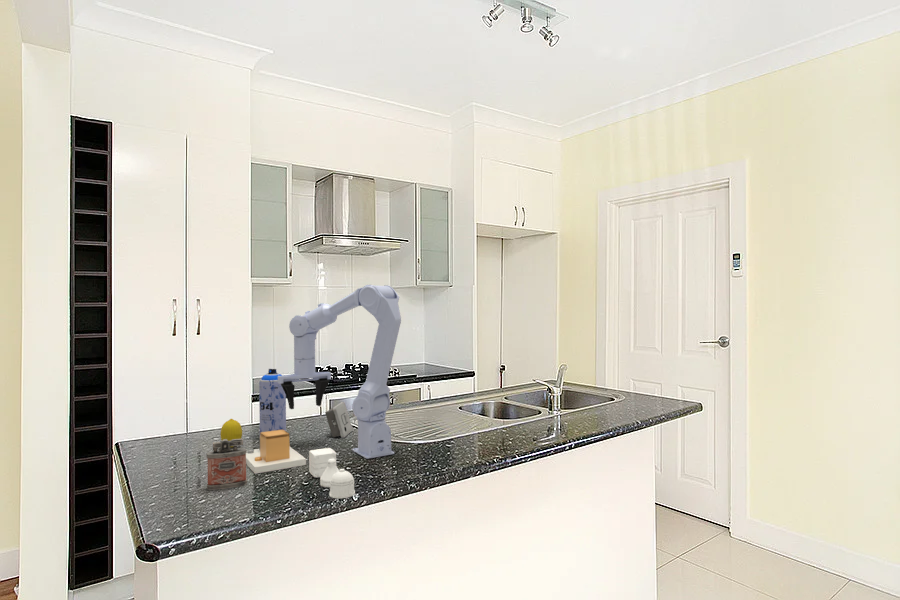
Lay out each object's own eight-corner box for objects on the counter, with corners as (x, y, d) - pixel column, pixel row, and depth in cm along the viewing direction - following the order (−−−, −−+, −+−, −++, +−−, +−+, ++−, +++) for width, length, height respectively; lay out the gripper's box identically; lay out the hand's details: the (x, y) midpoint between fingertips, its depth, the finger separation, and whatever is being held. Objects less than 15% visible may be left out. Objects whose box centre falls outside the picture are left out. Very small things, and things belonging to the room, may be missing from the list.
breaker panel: (306, 464, 132) (305, 446, 132) (255, 473, 125) (254, 454, 125) (287, 450, 145) (286, 433, 145) (240, 457, 139) (240, 439, 139)
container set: (308, 473, 126) (308, 450, 126) (330, 470, 128) (330, 447, 128) (333, 501, 108) (333, 473, 108) (358, 496, 111) (358, 469, 111)
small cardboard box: (289, 458, 132) (289, 433, 132) (266, 462, 129) (266, 437, 129) (283, 452, 137) (282, 429, 137) (260, 456, 134) (260, 432, 134)
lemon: (216, 449, 146) (215, 420, 146) (230, 444, 151) (230, 416, 151) (232, 451, 144) (232, 421, 144) (246, 446, 149) (246, 417, 149)
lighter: (206, 491, 114) (206, 443, 114) (206, 486, 117) (206, 440, 117) (247, 485, 117) (246, 439, 117) (246, 480, 120) (246, 436, 120)
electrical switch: (344, 438, 157) (341, 406, 157) (327, 440, 157) (323, 408, 158) (353, 431, 166) (350, 401, 166) (336, 432, 167) (333, 402, 167)
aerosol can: (253, 438, 158) (252, 370, 158) (269, 432, 166) (269, 366, 166) (276, 440, 156) (275, 370, 156) (292, 433, 163) (291, 367, 163)
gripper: (324, 355, 158) (325, 401, 158) (274, 358, 150) (275, 407, 150) (333, 357, 152) (333, 405, 152) (281, 361, 144) (282, 411, 144)
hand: (305, 407), depth 151 cm, fingers open, 7 cm apart
